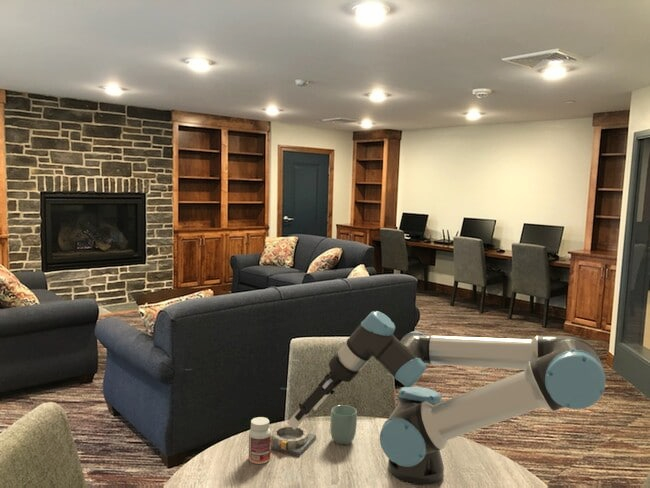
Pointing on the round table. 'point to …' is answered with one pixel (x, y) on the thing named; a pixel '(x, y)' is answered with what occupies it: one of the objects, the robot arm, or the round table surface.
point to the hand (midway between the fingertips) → (302, 415)
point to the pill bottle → (259, 441)
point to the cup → (343, 424)
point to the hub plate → (297, 450)
